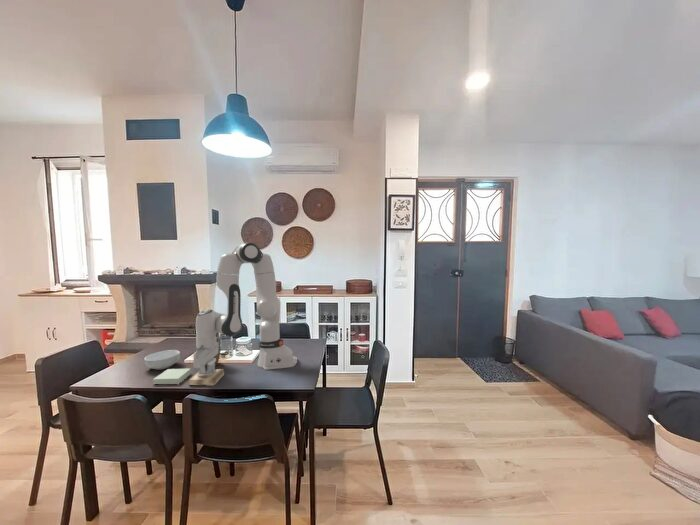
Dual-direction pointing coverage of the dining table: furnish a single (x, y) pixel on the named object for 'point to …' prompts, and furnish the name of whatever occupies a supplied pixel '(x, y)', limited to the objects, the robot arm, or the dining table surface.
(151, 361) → the cereal bowl
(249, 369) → the dining table surface
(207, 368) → the housing
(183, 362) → the dining table surface
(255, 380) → the dining table surface
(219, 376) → the stand
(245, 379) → the dining table surface
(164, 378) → the stand
